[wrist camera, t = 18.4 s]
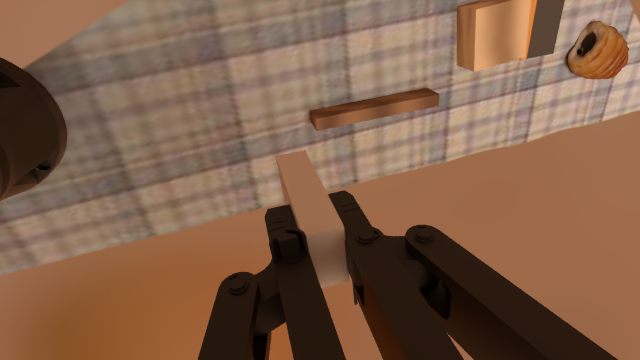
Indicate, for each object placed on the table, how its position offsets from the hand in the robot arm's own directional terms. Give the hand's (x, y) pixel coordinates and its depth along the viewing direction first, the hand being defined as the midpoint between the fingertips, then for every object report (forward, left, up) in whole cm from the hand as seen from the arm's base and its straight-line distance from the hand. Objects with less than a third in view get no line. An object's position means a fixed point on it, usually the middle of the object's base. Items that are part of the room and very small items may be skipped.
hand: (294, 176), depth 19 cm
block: (+29, 0, -27) cm, 40 cm away
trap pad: (+38, 0, -26) cm, 46 cm away
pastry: (+47, -6, -27) cm, 55 cm away
